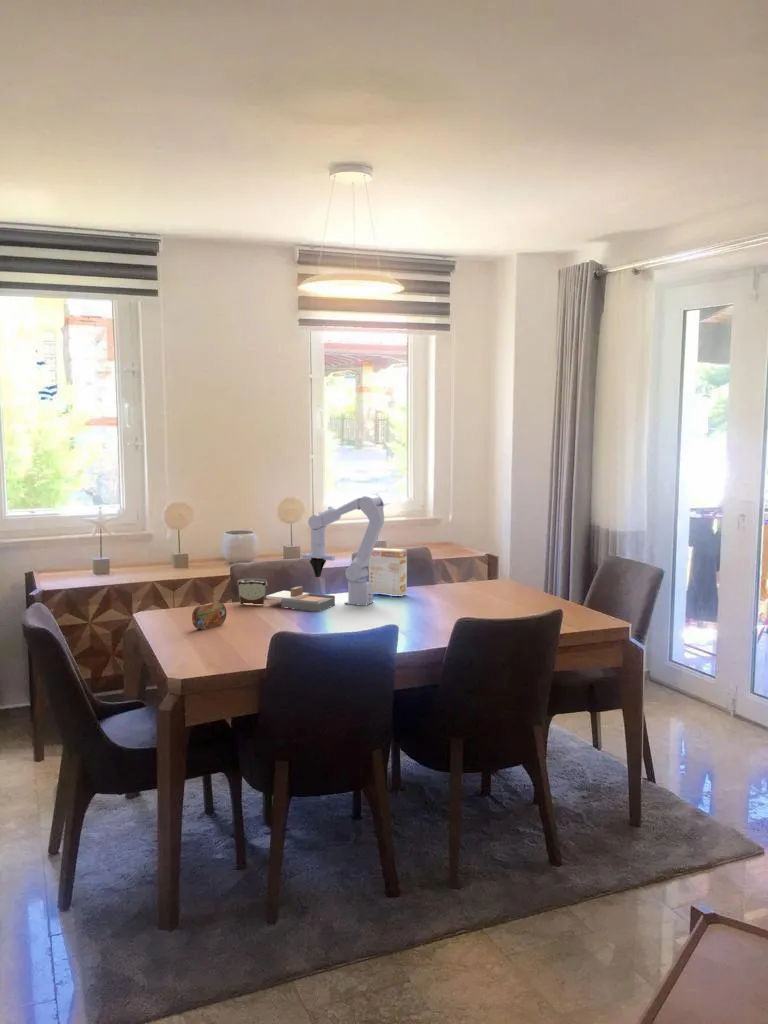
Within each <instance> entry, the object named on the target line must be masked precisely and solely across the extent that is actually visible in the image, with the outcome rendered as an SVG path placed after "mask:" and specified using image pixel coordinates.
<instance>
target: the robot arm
mask: <svg viewBox="0 0 768 1024" xmlns="http://www.w3.org/2000/svg"><path fill="white" fill-rule="evenodd" d="M384 507H385V503H384V501H383V499H382V497H381V496H380V495H377V494H372V495H364V496H362V497H359V498H356V499H353V500H351V501H349V502H347V503H346V504H343V505H341V506H339V507H336V506H328V507H327V509H325V510H324V511H323V510H322V511H319V512H318V514H312V515H311V516H310V517H308V520H307V521H308V522H307V524H308V526H309V527H310V553H309V552H305V553H301V555H300V557H301V559H310V560H309V563H310V565H311V567H312V570H313V573H314V577H315V578H320V577H321V576H322V571H323V569H324V566H325V564H326V562H327V561H335V560H336V559H335V558H336V556H335V554H334V555H333V554H326V543H325V542H326V527H327V526H329V525H330V524H333V523H335V522H337V521H339V520H341V517H342V516H343V515H345V514H348V513H350V512H353V511H355V510H360V511H361V512H362V513H363V514H364V515H365V516H366V518H367V519H368V521H369V522H368V524H367V527H366V530H365V532H364V533H365V534H364V536H363V538H362V541H361V543H360V546H359V549H358V551H357V553H356V556H355V558H353V560H352V561H351V563H350V565H349V566H348V567H347V568H346V570H345V577H346V580H348V581H347V582H348V583H347V584H348V585H347V588H348V589H347V590H348V594H347V595H348V597H347V598H348V600H347V601H345V602H344V603H348V604H347V605H354V604H359V605H358V606H367V605H366V604H368V605H370V604H372V603H371V602H373V601H374V599H373V598H374V594H373V586H372V583H370V582H369V581H367V577H369V566H370V563H369V559H370V556H371V554H372V551H373V548H375V547H376V546H375V545H376V544H377V543H376V542H377V541H378V538H379V536H380V533H381V530H382V528H383V525H384V522H385V514H384V513H385V512H384ZM369 603H370V604H369ZM373 603H374V602H373Z"/></svg>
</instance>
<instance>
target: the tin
mask: <svg viewBox="0 0 768 1024" xmlns="http://www.w3.org/2000/svg"><path fill="white" fill-rule="evenodd" d="M226 618H227V608H226V606H225V604H224V603H223V602H220V601H216V602H215V601H214V602H209V603H205V604H202V605H198V606H196V607H194V609H193V611H192V615H191V619H192V620H191V621H192V622H191V623H192V624H193V627H194V628H195V629H197V630H203V631H206V630H209V629H212V628H216V627H220V626H222V625H223V624H224V622H225V621H226ZM219 625H220V626H219ZM205 629H206V630H205Z"/></svg>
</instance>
